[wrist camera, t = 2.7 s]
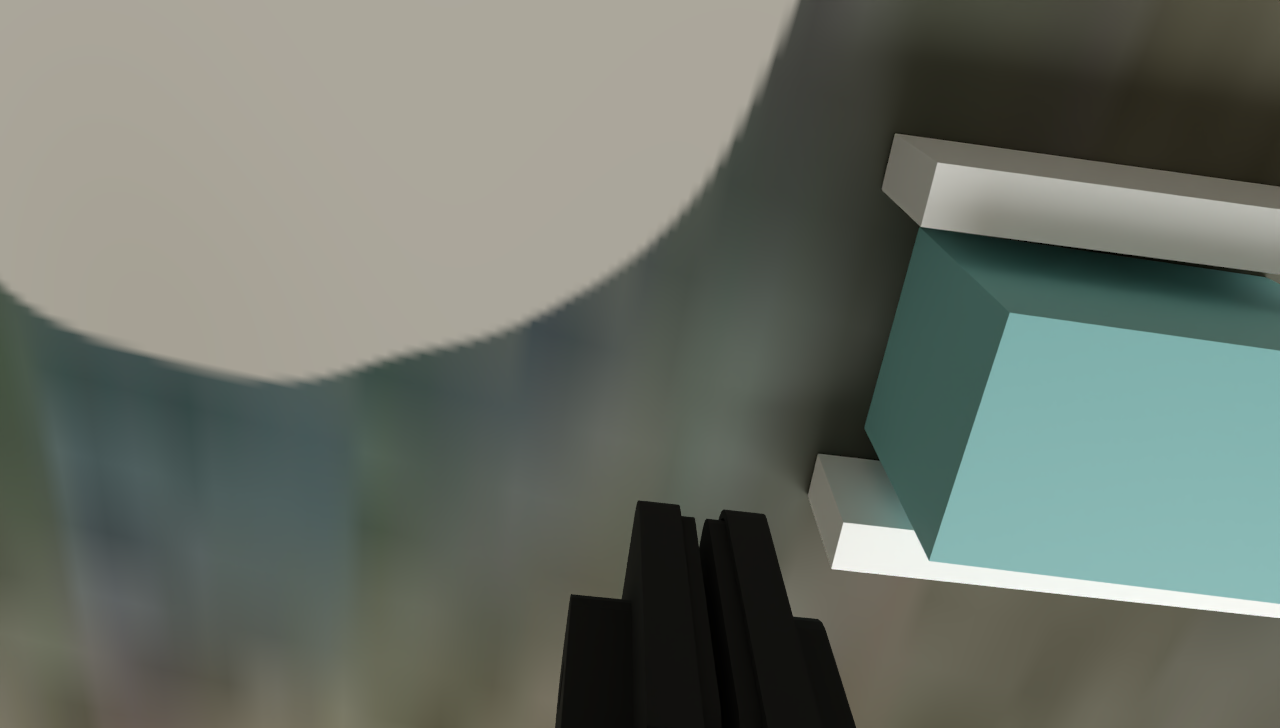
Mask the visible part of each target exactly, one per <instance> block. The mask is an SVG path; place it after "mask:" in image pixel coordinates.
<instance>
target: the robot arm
mask: <svg viewBox="0 0 1280 728" xmlns="http://www.w3.org/2000/svg"><path fill="white" fill-rule="evenodd" d="M555 728H856V726H855V723H854V720H853V716H852V713H851V710H850V707H849V704H848V700H847V697H846V694H845V691H844V688H843V684H842V681H841V678H840V675H839V672H838V668H837V665H836V662H835V659H834V656H833V652H832V649H831V646H830V643H829V640H828V636H827V633H826V630H825V628H824V626H823V624H822V622H821V621H820V620H818V619H811V618H801V617H793V615H792V611H791V608H790V604H789V600H788V597H787V593H786V589H785V585H784V582H783V578H782V574H781V570H780V567H779V563H778V559H777V556H776V552H775V548H774V544H773V541H772V537H771V533H770V529H769V526H768V522H767V518H766V516H765V515H764V514H759V513H750V512H741V511H731V510H723V511H722V512H721V514H720V517H719V520H713V519H706V520H705V523H704V526H703V531H702V536H701V541H700V547H699V545H698V538H697V531H696V523H695V518H694V517H685V516H681V511H680V506H679V505H676V504H666V503H657V502H648V501H639V500H638V502H637V506H636V511H635V517H634V523H633V530H632V536H631V543H630V549H629V556H628V562H627V569H626V575H625V582H624V588H623V595H622V599H612V598H602V597H592V596H582V595H572V594H571V596H570V603H569V610H568V617H567V625H566V633H565V640H564V649H563V657H562V665H561V674H560V683H559V693H558V703H557V714H556V725H555Z"/></svg>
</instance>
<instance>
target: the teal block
mask: <svg viewBox="0 0 1280 728" xmlns="http://www.w3.org/2000/svg"><path fill="white" fill-rule="evenodd" d="M864 429H865V431H866V433H867V435H868V437H869V439H870V441H871V443H872V445H873V447H874V449H875V451H876V453H877V455H878V457H879V460H880V462H881V464H882V466H883V468H884V470H885V472H886V474H887V476H888V478H889V480H890V482H891V484H892V486H893V488H894V490H895V492H896V494H897V496H898V499H899V501H900V503H901V505H902V507H903V509H904V511H905V513H906V515H907V517H908V519H909V521H910V523H911V525H912V527H913V529H914V531H915V533H916V535H917V537H918V540H919V542H920V544H921V546H922V548H923V550H924V552H925V554H926V556H927V558H928V560H929V561H933V562H941V563H949V564H957V565H965V566H974V567H982V568H990V569H998V570H1006V571H1014V572H1023V573H1031V574H1039V575H1047V576H1055V577H1063V578H1072V579H1080V580H1088V581H1096V582H1104V583H1112V584H1121V585H1129V586H1137V587H1145V588H1153V589H1161V590H1170V591H1178V592H1186V593H1194V594H1202V595H1210V596H1219V597H1227V598H1235V599H1243V600H1251V601H1259V602H1268V603H1276V604H1280V284H1278V283H1276V282H1274V281H1272V280H1270V279H1268V278H1266V277H1261V276H1254V275H1247V274H1240V273H1234V272H1227V271H1220V270H1213V269H1206V268H1199V267H1192V266H1185V265H1179V264H1172V263H1165V262H1158V261H1151V260H1144V259H1137V258H1131V257H1124V256H1117V255H1110V254H1103V253H1096V252H1089V251H1083V250H1076V249H1069V248H1062V247H1055V246H1048V245H1041V244H1035V243H1028V242H1021V241H1014V240H1007V239H1000V238H993V237H987V236H980V235H973V234H966V233H959V232H952V231H945V230H938V229H932V228H925V227H919V230H918V234H917V237H916V241H915V245H914V248H913V252H912V255H911V259H910V263H909V266H908V270H907V274H906V277H905V281H904V285H903V288H902V292H901V296H900V299H899V303H898V307H897V310H896V314H895V317H894V321H893V325H892V328H891V332H890V336H889V339H888V343H887V347H886V350H885V354H884V358H883V361H882V365H881V369H880V372H879V376H878V379H877V383H876V387H875V390H874V394H873V398H872V401H871V405H870V409H869V412H868V416H867V420H866V423H865V427H864Z"/></svg>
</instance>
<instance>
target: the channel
mask: <svg viewBox="0 0 1280 728" xmlns="http://www.w3.org/2000/svg"><path fill="white" fill-rule="evenodd" d="M881 190H882V191H883V192H884V193H885V194H887V195H888V196H889V197H890V198H891V199H892V200H893V201H894V202H895V203H896V204H897V205H898V206H899V207H900V208H901V209H902V210H903V211H904V212H906V213H907V214H908V215H909V216H910V217H911V218H912V219H913V220H914V221H915V222H916V223H917V224H918V225H919V226H920V227H925V228H933V229H940V230H948V231H955V232H963V233H970V234H978V235H986V236H993V237H1001V238H1008V239H1016V240H1023V241H1031V242H1038V243H1046V244H1053V245H1061V246H1068V247H1076V248H1084V249H1091V250H1099V251H1106V252H1114V253H1121V254H1129V255H1136V256H1144V257H1151V258H1159V259H1166V260H1174V261H1181V262H1189V263H1197V264H1204V265H1212V266H1219V267H1227V268H1234V269H1242V270H1249V271H1257V272H1264V273H1272V274H1279V275H1280V187H1278V186H1271V185H1264V184H1257V183H1250V182H1242V181H1235V180H1228V179H1221V178H1214V177H1206V176H1199V175H1192V174H1185V173H1177V172H1170V171H1163V170H1156V169H1149V168H1141V167H1134V166H1127V165H1120V164H1113V163H1105V162H1098V161H1091V160H1084V159H1076V158H1069V157H1062V156H1055V155H1048V154H1040V153H1033V152H1026V151H1019V150H1012V149H1004V148H997V147H990V146H983V145H975V144H968V143H961V142H954V141H947V140H939V139H932V138H925V137H918V136H911V135H903V134H896V133H895V135H894V139H893V143H892V148H891V152H890V156H889V160H888V164H887V168H886V172H885V177H884V181H883V185H882V189H881ZM808 498H809V501H810V505H811V508H812V511H813V514H814V517H815V520H816V523H817V526H818V529H819V532H820V535H821V539H822V542H823V545H824V548H825V551H826V554H827V557H828V560H829V563H830V566H831V569H837V570H846V571H855V572H864V573H874V574H883V575H892V576H901V577H910V578H919V579H928V580H937V581H947V582H956V583H965V584H974V585H983V586H992V587H1001V588H1011V589H1020V590H1029V591H1038V592H1047V593H1056V594H1065V595H1074V596H1084V597H1093V598H1102V599H1111V600H1120V601H1129V602H1138V603H1148V604H1157V605H1166V606H1175V607H1184V608H1193V609H1202V610H1211V611H1221V612H1230V613H1239V614H1248V615H1257V616H1266V617H1275V618H1280V604H1276V603H1268V602H1259V601H1251V600H1243V599H1235V598H1227V597H1219V596H1210V595H1202V594H1194V593H1186V592H1178V591H1170V590H1161V589H1153V588H1145V587H1137V586H1129V585H1121V584H1112V583H1104V582H1096V581H1088V580H1080V579H1072V578H1063V577H1055V576H1047V575H1039V574H1031V573H1023V572H1014V571H1006V570H998V569H990V568H982V567H974V566H965V565H957V564H949V563H941V562H933V561H929V560H928V558H927V556H926V554H925V552H924V550H923V548H922V546H921V544H920V542H919V540H918V537H917V535H916V533H915V531H914V529H913V527H912V525H911V523H910V521H909V519H908V517H907V515H906V513H905V511H904V509H903V507H902V505H901V503H900V501H899V499H898V496H897V494H896V492H895V490H894V488H893V486H892V484H891V482H890V480H889V478H888V476H887V474H886V472H885V470H884V468H883V466H882V464H881V462H880V461H877V460H868V459H860V458H851V457H843V456H834V455H826V454H818V455H817V459H816V464H815V468H814V472H813V476H812V480H811V484H810V488H809V493H808Z"/></svg>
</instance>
